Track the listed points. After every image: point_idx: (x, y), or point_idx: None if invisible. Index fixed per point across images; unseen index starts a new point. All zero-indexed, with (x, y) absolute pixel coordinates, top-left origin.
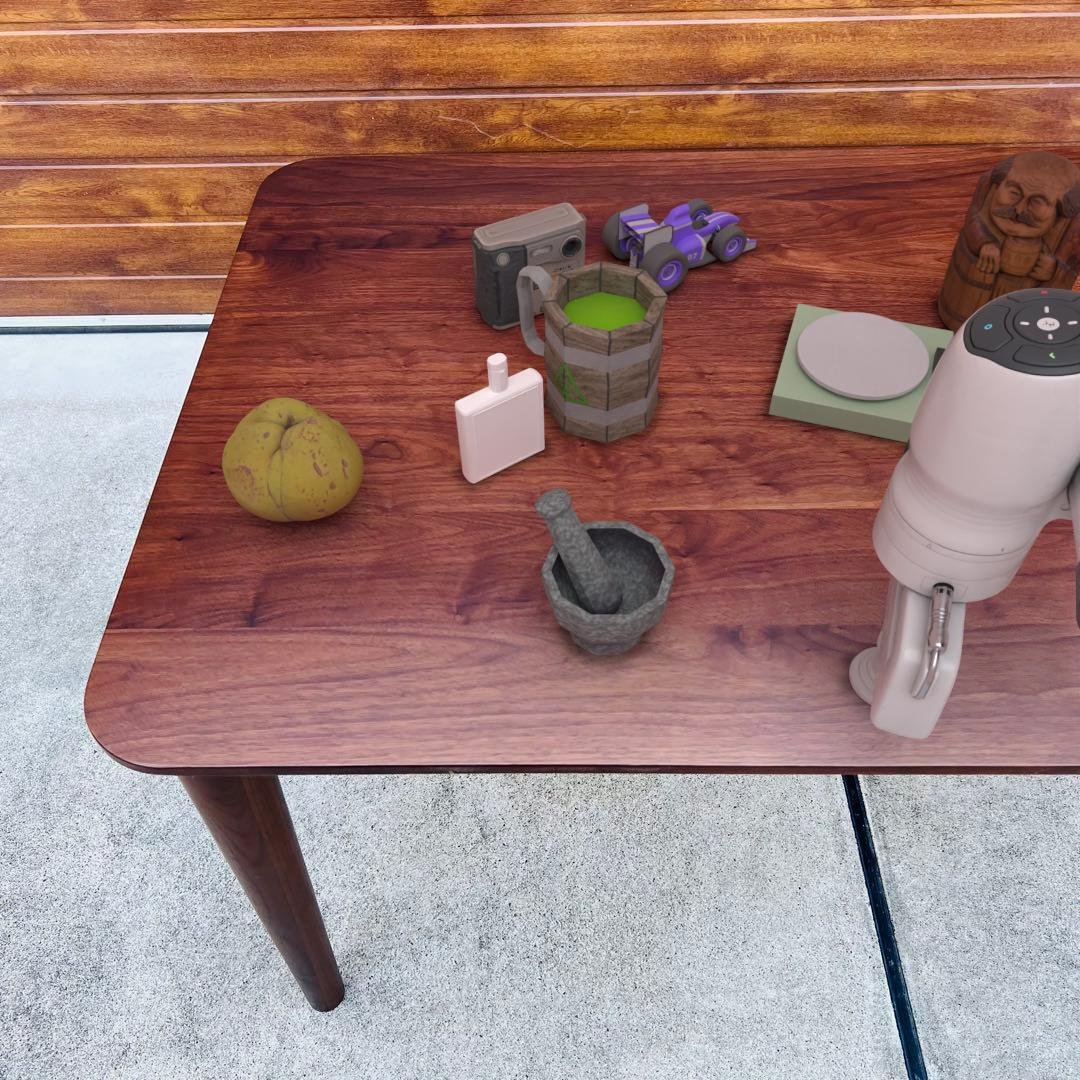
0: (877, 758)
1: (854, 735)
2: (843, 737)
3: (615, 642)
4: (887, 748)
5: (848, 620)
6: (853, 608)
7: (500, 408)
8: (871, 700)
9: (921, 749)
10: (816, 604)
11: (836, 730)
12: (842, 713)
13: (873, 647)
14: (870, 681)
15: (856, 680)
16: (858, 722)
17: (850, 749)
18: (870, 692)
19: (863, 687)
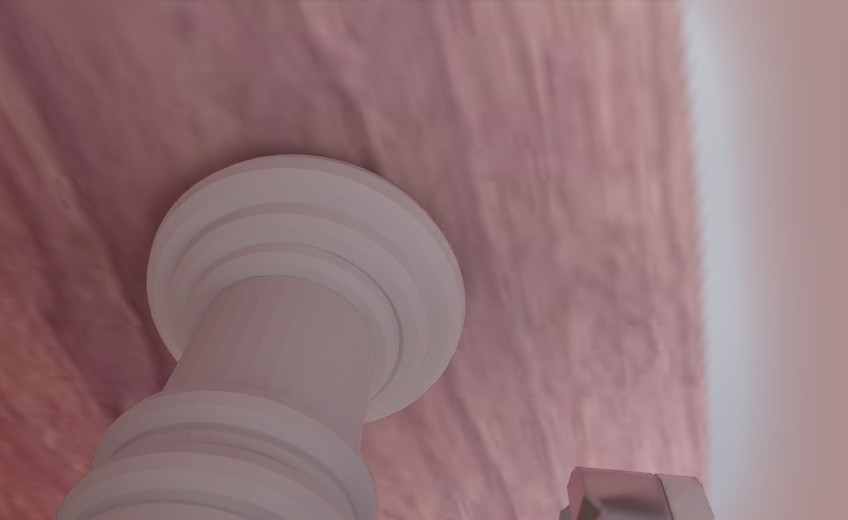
0: (686, 306)
1: (589, 377)
2: (602, 408)
3: None
4: (636, 272)
5: (72, 397)
6: (6, 382)
7: None
8: (446, 365)
9: (630, 141)
10: (58, 483)
11: (575, 427)
12: (498, 412)
13: (177, 361)
14: (375, 403)
15: (368, 419)
16: (528, 366)
17: (652, 389)
18: (417, 382)
19: (398, 403)
